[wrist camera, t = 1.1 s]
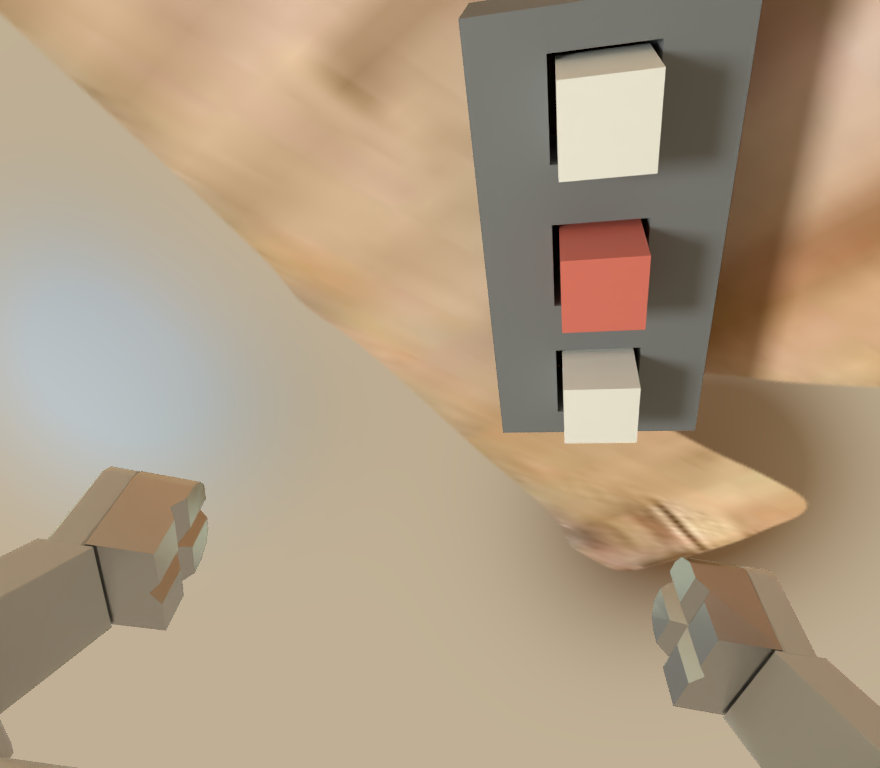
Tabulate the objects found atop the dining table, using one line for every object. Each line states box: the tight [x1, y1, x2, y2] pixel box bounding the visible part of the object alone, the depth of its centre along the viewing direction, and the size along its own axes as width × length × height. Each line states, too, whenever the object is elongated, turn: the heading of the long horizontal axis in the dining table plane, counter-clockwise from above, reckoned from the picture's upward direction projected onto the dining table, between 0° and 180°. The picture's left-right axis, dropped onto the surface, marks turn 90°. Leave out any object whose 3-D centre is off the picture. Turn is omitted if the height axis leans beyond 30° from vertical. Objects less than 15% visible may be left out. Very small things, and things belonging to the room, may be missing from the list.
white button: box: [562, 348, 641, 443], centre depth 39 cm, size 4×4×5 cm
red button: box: [559, 219, 651, 333], centre depth 34 cm, size 4×4×5 cm
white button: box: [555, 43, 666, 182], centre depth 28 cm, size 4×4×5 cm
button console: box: [459, 0, 762, 433], centre depth 36 cm, size 13×26×5 cm, turn 8°
